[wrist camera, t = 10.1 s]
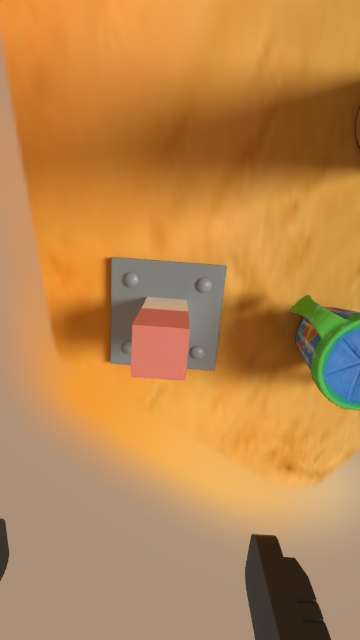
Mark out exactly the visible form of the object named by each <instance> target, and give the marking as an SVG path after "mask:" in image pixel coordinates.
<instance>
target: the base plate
mask: <svg viewBox="0 0 360 640" xmlns="http://www.w3.org/2000/svg"><path fill="white" fill-rule="evenodd" d="M226 268H227V266H225V265H212V264H199V263H185V262H172V261H159V260H145V259H132V258H119V257H112V274H111V364H123V365H131V352H132V325H133V323H134V321H135V319H136V317H137V315H138V313H139V311H140V309H141V308H142V306H143V304H144V302H145V300H146V298H147V297H156V298H170V299H184V300H187V304H188V314H189V323H190V335H189V347H188V358H187V369H197V370H211V371H214V370H215V362H216V353H217V345H218V336H219V328H220V319H221V311H222V302H223V294H224V285H225V277H226Z"/></svg>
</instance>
